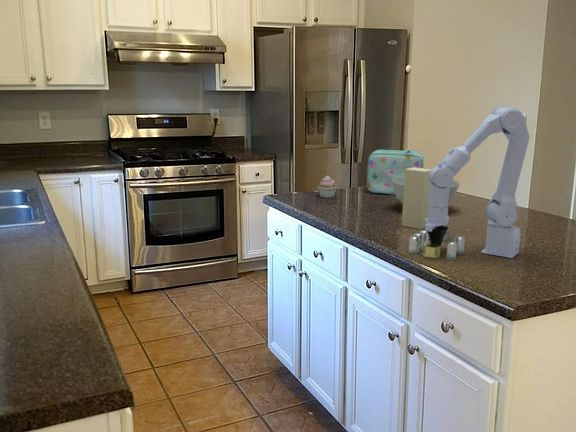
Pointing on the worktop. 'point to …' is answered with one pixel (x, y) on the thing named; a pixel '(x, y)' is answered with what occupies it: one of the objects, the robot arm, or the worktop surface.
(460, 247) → the cylinder
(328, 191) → the cupcake
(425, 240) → the cylinder
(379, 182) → the lunch box
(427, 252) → the nut
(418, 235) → the cylinder
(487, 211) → the robot arm
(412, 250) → the cylinder
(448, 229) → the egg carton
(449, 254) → the cylinder
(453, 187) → the decorative bowl
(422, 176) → the beige rectangular block
